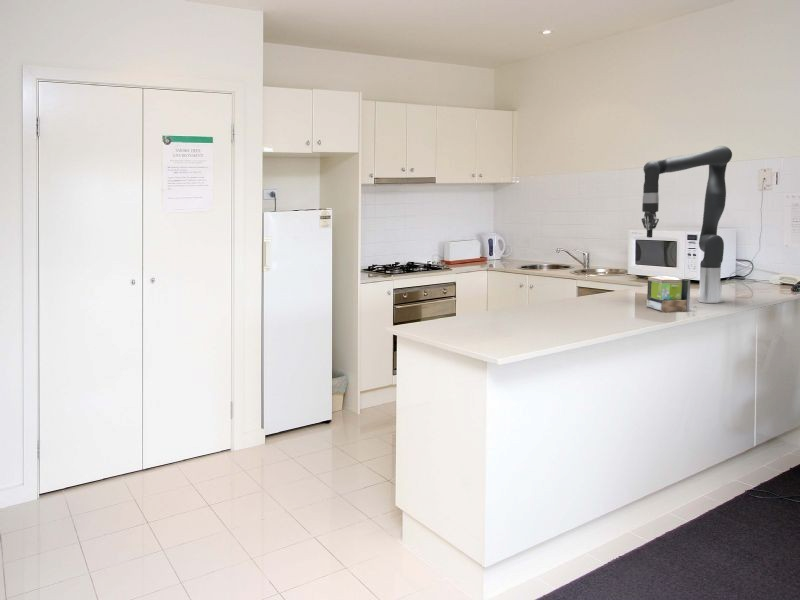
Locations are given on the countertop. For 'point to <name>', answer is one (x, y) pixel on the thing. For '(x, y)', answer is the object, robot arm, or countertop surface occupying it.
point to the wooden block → (674, 305)
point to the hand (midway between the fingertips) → (649, 237)
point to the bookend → (686, 291)
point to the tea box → (663, 290)
